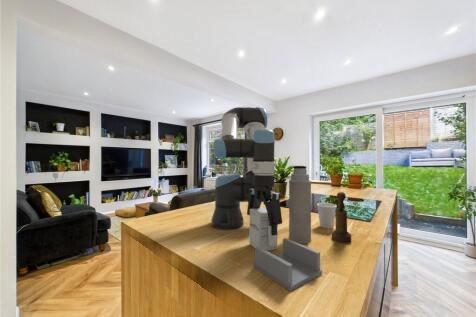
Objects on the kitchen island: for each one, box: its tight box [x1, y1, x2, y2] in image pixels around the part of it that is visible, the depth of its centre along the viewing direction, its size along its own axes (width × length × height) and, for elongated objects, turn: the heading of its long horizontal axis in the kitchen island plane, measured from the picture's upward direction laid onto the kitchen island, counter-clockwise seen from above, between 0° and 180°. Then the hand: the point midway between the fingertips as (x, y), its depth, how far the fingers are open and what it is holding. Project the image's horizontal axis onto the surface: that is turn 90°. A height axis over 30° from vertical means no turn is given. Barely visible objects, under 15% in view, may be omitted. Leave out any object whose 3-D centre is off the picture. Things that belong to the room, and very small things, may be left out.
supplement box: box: [248, 207, 279, 252], centre depth 70 cm, size 7×7×13 cm
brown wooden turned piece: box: [331, 191, 352, 244], centre depth 77 cm, size 7×6×18 cm
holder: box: [253, 237, 323, 292], centre depth 54 cm, size 13×12×6 cm
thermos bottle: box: [288, 165, 312, 245], centre depth 77 cm, size 8×8×28 cm
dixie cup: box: [316, 202, 338, 229], centre depth 92 cm, size 8×8×10 cm
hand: (263, 240), depth 70 cm, fingers closed on supplement box, 8 cm apart
